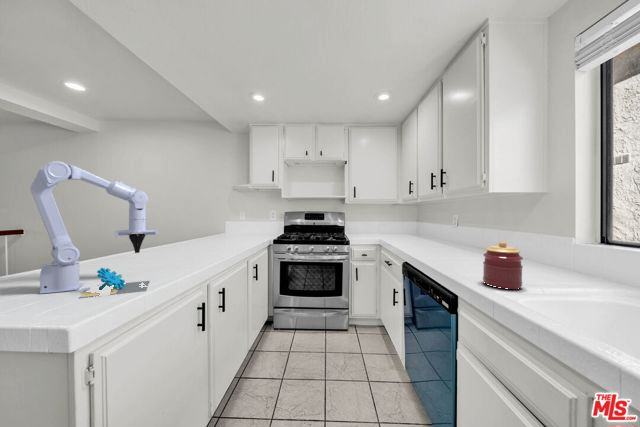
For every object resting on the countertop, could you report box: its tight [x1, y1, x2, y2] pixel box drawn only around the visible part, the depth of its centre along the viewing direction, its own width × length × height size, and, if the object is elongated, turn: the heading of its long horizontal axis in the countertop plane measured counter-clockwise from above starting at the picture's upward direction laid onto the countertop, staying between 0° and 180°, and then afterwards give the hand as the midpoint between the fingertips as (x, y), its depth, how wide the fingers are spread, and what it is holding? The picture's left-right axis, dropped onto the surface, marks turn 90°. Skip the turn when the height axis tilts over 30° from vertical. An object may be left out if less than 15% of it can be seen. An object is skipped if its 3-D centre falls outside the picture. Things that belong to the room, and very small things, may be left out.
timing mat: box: [78, 280, 151, 300], centre depth 95 cm, size 18×15×1 cm
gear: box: [96, 267, 126, 290], centre depth 94 cm, size 11×6×10 cm
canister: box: [482, 240, 524, 289], centre depth 106 cm, size 13×13×18 cm
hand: (137, 252), depth 110 cm, fingers closed
